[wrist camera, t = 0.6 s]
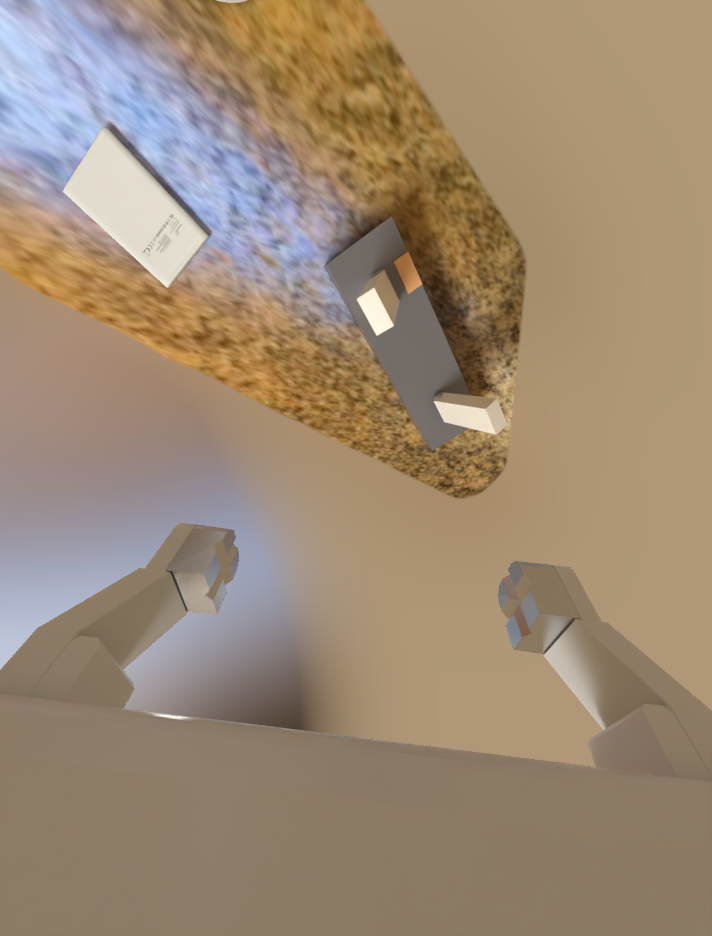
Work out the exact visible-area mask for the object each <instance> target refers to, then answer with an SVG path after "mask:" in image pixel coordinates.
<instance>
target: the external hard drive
mask: <svg viewBox="0 0 712 936" xmlns="http://www.w3.org/2000/svg"><path fill="white" fill-rule="evenodd" d="M63 192H64V193H65V194H66V195H67V196H68V197H69V198H71V199H72V200H73V201H74V202H75V203H76V204H77V205H78V206H79V207H80V208H81V209H82V210H83V211H85V212H86V213H87V214H88V215H89V216H90V217H91V218H92V219H93V220H94V221H95V222H96V223H98V224H99V225H100V226H101V227H102V228H103V229H104V230H105V231H106V232H107V233H108V234H109V235H111V236H112V237H113V238H114V239H115V240H116V241H117V242H118V243H119V244H120V245H121V246H122V247H124V248H125V249H126V250H127V251H128V252H129V253H130V254H131V255H132V256H133V257H134V258H135V259H137V260H138V261H139V262H140V263H141V264H142V265H143V266H144V267H145V268H146V269H147V270H148V271H150V272H151V273H152V274H153V275H154V276H155V277H156V278H157V279H158V280H159V281H160V282H161V283H163V284H164V285H165V286H166V287H167V288H170V287H171V286H172V284H173V283H174V282H175V280H176V279H177V278H178V277H179V275H180V274H181V273H182V272H183V270H184V269H185V267H186V265H187V264H188V263H189V262H190V260H191V259H193V258H194V256H195V255H196V254H197V253H198V251H199V250H200V249H201V248H202V246H203V245H204V244H205V243H206V241H207V240H208V239H209V236H208V235H207V234H206V233H205V231H204V230H203V229H202V228H201V227H200V226H199V225H198V224H197V223H196V222H195V221H194V220H193V219H192V218H191V216H190V215H189V214H188V213H187V212H186V211H185V210H184V209H183V208H182V207H181V206H180V205H179V204H178V203H177V201H176V200H175V199H174V198H173V197H172V196H171V195H170V194H169V193H168V192H167V191H166V190H165V189H164V188H163V187H162V185H161V184H160V183H159V182H158V181H157V180H156V179H155V178H154V177H153V176H152V175H151V174H150V173H149V172H148V171H147V169H146V168H145V167H144V166H143V165H142V164H141V163H140V162H139V161H138V160H137V159H136V158H135V157H134V156H133V155H132V154H131V152H130V151H129V150H128V149H127V148H126V147H125V146H124V145H123V144H122V143H121V142H120V141H119V140H118V139H117V138H116V137H115V135H114V134H113V133H112V132H111V131H110V130H109V129H108V128H106V127H104V128H103V129H102V130H101V131H100V133H99V134H98V136H97V137H96V139H95V140H94V142H93V144H92V145H91V147H90V148H89V150H88V152H87V153H86V155H85V156H84V158H83V159H82V161H81V163H80V164H79V165H78V167H77V169H76V170H75V172H74V173H73V175H72V177H71V178H70V180H69V181H68V183H67V184H66V186H65V188H64V190H63Z"/></svg>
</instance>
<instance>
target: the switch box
mask: <svg viewBox="0 0 712 936" xmlns="http://www.w3.org/2000/svg"><path fill="white" fill-rule="evenodd" d="M324 267H325V269H326V271H327V272H328V274H329V276H330V277H331V279H332V281H333V283H334V284H335V286H336V288H337V290H338V291H339V293H340V295H341V297H342V298H343V300H344V302H345V304H346V305H347V307H348V309H349V311H350V312H351V314H352V316H353V318H354V319H355V321H356V323H357V325H358V326H359V328H360V330H361V332H362V333H363V335H364V337H365V339H366V340H367V342H368V344H369V346H370V347H371V349H372V351H373V353H374V354H375V356H376V358H377V360H378V361H379V363H380V365H381V367H382V368H383V370H384V372H385V374H386V375H387V377H388V379H389V381H390V382H391V384H392V386H393V388H394V389H395V391H396V393H397V395H398V396H399V398H400V400H401V402H402V403H403V405H404V407H405V409H406V410H407V412H408V414H409V416H410V417H411V419H412V421H413V423H414V424H415V426H416V428H417V430H418V431H419V433H420V435H421V437H422V438H423V440H424V441H425V442H426V443H427V445H428V446H429V447H430V449H431V450H434V449H436V448H437V447H439V446H441V445H442V444H444V443H446V442H447V441H449V440H451V439H452V438H454V437H456V436H457V435H459V434H461V433H462V432H464V431H466V430H467V429H469V428H467V427H463V426H458V425H454V424H450V423H446V422H444V421H443V419H442V417H441V415H440V413H439V411H438V409H437V407H436V405H435V403H434V398H433V396H434V395H435V394H437V393H440V392H441V393H443V392H445V393H454V394H462V395H471V394H470V391H469V389H468V387H467V385H466V382H465V380H464V378H463V376H462V373H461V371H460V369H459V366H458V364H457V362H456V360H455V357H454V355H453V353H452V351H451V348H450V346H449V344H448V342H447V339H446V337H445V335H444V333H443V330H442V328H441V326H440V323H439V321H438V319H437V317H436V314H435V312H434V310H433V308H432V305H431V303H430V301H429V299H428V296H427V294H426V292H425V290H424V287H423V285H422V282H421V279H420V277H419V275H418V273H417V270H416V268H415V266H414V264H413V261H412V259H411V257H410V254H409V252H408V251H407V249H406V247H405V244H404V242H403V240H402V238H401V235H400V233H399V231H398V228H397V226H396V224H395V222H394V219H393V217H392V216H391V217H389V218H388V219H387V220H385V221H384V222H383V223H381V224H380V225H379V226H377V227H376V228H375V229H373V230H372V231H371V232H369V233H368V234H367V235H365V236H364V237H363V238H361V239H360V240H359V241H357V242H356V243H355V244H353V245H352V246H351V247H349V248H348V249H346V250H345V251H344V252H342V253H341V254H340V255H338V256H337V257H336V258H334V259H333V260H332V261H330V262H329V263H328V264H326V265H325V266H324ZM380 269H381V270H382V271H383V270H385V272H386V274H387V276H388V278H389V280H390V282H391V284H392V286H393V289H394V291H395V293H396V295H397V297H398V299H399V301H400V303H399V307H398V311H397V315H396V319H395V324H394V326H393V327H391V328H390V329H388V330H386V331H384V332H383V333H381V334H379V335H376V334H375V332H374V330H373V328H372V326H371V325H370V323H369V321H368V319H367V317H366V315H365V314H364V312H363V310H362V308H361V306H360V305H359V303H358V301H357V298H358V296H359V295H360V293H361V292H362V290H363V289H364V287H365V286H366V284H367V283H368V281H369V280H370V279H371V278H372V277H371V276H372V275H373V274H374V273H376V272H377V271H379V270H380Z"/></svg>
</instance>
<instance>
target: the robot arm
mask: <svg viewBox="0 0 712 936" xmlns="http://www.w3.org/2000/svg"><path fill="white" fill-rule="evenodd" d="M217 1H221V2H228V3H238V2H244V1H247V0H217ZM235 538H236V537H235V533H234V530H230V529H223V528H217V527H210V526H203V525H195V524H186V523H180V524H178V525H177V526H176V527H175V528H174V529H173V531H172V532H171V533H170V535H169V536H168V537H167V539H166V540H165V542H164V543H163V544H162V546H161V547H160V549H159V550H158V551H157V553H156V554H155V555H154V557H153V558H152V560H151V561H150V563H149V564H148V565H147V567H146V568H145V569H143V568H139V569H137V570H136V571H134V572H132V573H131V574H129V575H127V576H126V577H124V578H122V579H120V580H119V581H117V582H115V583H114V584H112V585H110V586H108V587H107V588H105V589H103V590H102V591H100V592H98V593H97V594H95V595H93V596H92V597H90V598H88V599H86V600H85V601H83V602H81V603H80V604H78V605H76V606H74V607H73V608H71V609H69V610H68V611H66V612H64V613H62V614H61V615H59V616H57V617H56V618H54V619H53V620H51V621H49V622H47V623H46V624H44V625H42V626H40V627H39V628H37V629H36V630H35V631H34V633H33V634H32V635H31V636H30V637H29V638H28V639H27V641H26V642H25V643H24V644H23V645H22V646H21V647H20V648H19V650H18V651H17V652H16V653H15V654H14V655H13V657H12V658H11V659H10V660H9V661H8V662H7V663H6V664H5V665H4V667H3V668H2V669H1V670H0V936H712V711H711V710H710V709H709V708H708V707H707V706H705V705H704V704H703V703H702V702H701V701H700V700H698V699H697V698H696V697H694V695H692V694H691V693H690V692H689V691H688V690H687V689H685V688H684V687H683V686H682V685H681V684H679V683H678V682H677V681H676V680H675V679H674V678H672V677H671V676H670V675H669V674H667V673H666V672H665V671H664V670H663V669H662V668H660V667H659V666H658V665H657V664H656V663H655V662H653V661H652V660H651V659H650V658H649V657H647V656H646V655H645V654H644V653H643V652H642V651H640V650H639V649H638V648H637V647H636V646H634V645H633V644H632V643H631V642H630V641H628V640H627V639H626V638H625V637H624V636H623V635H621V634H620V633H619V632H618V631H617V630H615V629H614V628H613V627H612V626H611V625H610V624H608V623H605V622H602V621H601V619H600V618H599V616H598V614H597V612H596V610H595V609H594V607H593V605H592V603H591V601H590V600H589V598H588V596H587V594H586V592H585V591H584V589H583V587H582V585H581V583H580V581H579V580H578V578H577V576H576V574H575V572H574V571H573V570H572V569H571V568H570V567H562V566H554V565H548V564H538V563H527V562H518V561H515V562H513V563H511V565H510V567H509V568H508V570H509V573H510V575H509V576H507V577H505V578H503V579H502V581H501V583H500V585H499V592H498V597H499V604H500V608H501V611H502V612H503V613H504V614H505V615H506V616H507V617H508V618H509V620H508V622H507V625H506V628H507V631H508V634H509V638H510V641H511V644H512V647H513V649H514V650H521V651H527V652H534V653H541V654H544V656H545V658H546V659H547V660H548V662H549V663H550V664H551V665H552V667H554V669H555V670H556V671H557V673H558V674H559V675H560V676H561V678H562V679H563V680H564V681H565V683H566V684H567V685H568V686H569V687H570V689H571V690H572V691H573V693H574V694H575V695H576V696H577V698H578V699H579V700H580V701H581V702H582V704H583V705H584V706H585V708H586V709H587V710H588V711H589V712H590V714H591V715H592V716H593V717H594V719H595V720H596V721H597V722H598V724H599V725H600V726H601V727H602V729H603V731H602V732H601V733H599V734H597V735H596V736H594V737H593V738H591V739H590V741H589V742H588V746H589V749H590V752H591V754H592V757H593V759H594V762H595V765H596V767H591V766H583V765H575V764H567V763H559V762H550V761H543V760H534V759H527V758H519V757H511V756H502V755H494V754H486V753H478V752H471V751H463V750H455V749H447V748H439V747H431V746H423V745H414V744H406V743H398V742H390V741H382V740H374V739H366V738H358V737H350V736H342V735H334V734H326V733H318V732H310V731H302V730H294V729H286V728H278V727H270V726H262V725H253V724H245V723H238V722H230V721H222V720H214V719H205V718H197V717H190V716H181V715H173V714H165V713H157V712H149V711H141V710H133V709H125V708H124V707H125V705H126V703H127V701H128V699H129V698H130V696H131V694H132V692H133V690H134V685H133V682H132V681H131V679H130V678H129V677H128V676H127V674H126V673H125V672H124V670H123V669H124V668H125V667H127V666H128V665H129V664H130V663H131V662H132V661H133V660H135V659H136V658H137V657H138V656H139V655H140V654H141V653H142V652H144V651H145V650H146V649H147V648H148V647H149V646H151V645H152V644H153V643H154V642H155V641H156V640H157V639H159V638H160V637H161V636H162V635H163V634H164V633H165V632H166V631H168V630H169V629H170V628H171V627H172V626H173V625H174V624H176V623H177V621H179V620H180V619H181V618H182V617H184V616H185V615H186V614H187V612H198V613H208V614H209V613H210V614H217V613H218V611H219V609H220V607H221V604H222V602H223V600H224V598H225V595H226V589H225V585H226V584H227V583H229V582H230V581H231V580H233V578H234V575H235V573H236V570H237V566H238V562H239V552H238V548H237V547H236V546H235V545H234V544H233V542H234V540H235Z"/></svg>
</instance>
